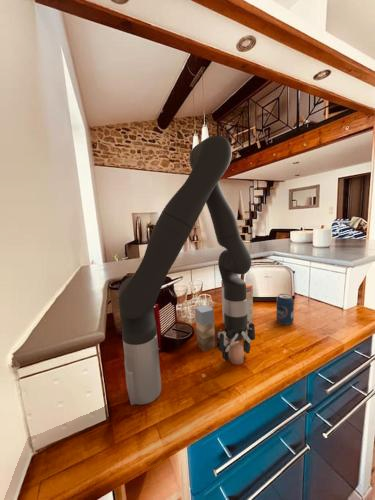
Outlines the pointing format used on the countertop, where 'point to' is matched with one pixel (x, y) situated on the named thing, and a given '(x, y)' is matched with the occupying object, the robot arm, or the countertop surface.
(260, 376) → the countertop surface
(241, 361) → the pink rounded cylinder
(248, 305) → the cracker box
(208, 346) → the tower base
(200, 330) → the tower mid
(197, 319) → the tower top
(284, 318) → the soda can
